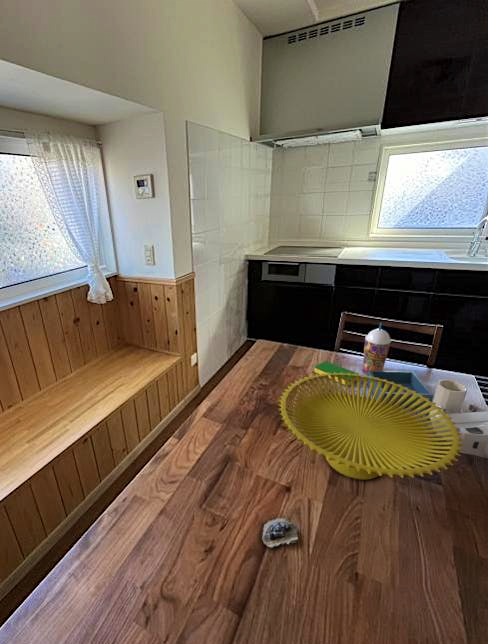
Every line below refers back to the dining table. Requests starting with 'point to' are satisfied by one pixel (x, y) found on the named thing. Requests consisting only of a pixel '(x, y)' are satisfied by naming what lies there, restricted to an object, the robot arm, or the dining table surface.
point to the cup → (449, 396)
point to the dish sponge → (331, 368)
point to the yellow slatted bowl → (368, 428)
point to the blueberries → (279, 532)
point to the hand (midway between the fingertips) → (454, 407)
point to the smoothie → (376, 349)
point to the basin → (405, 380)
